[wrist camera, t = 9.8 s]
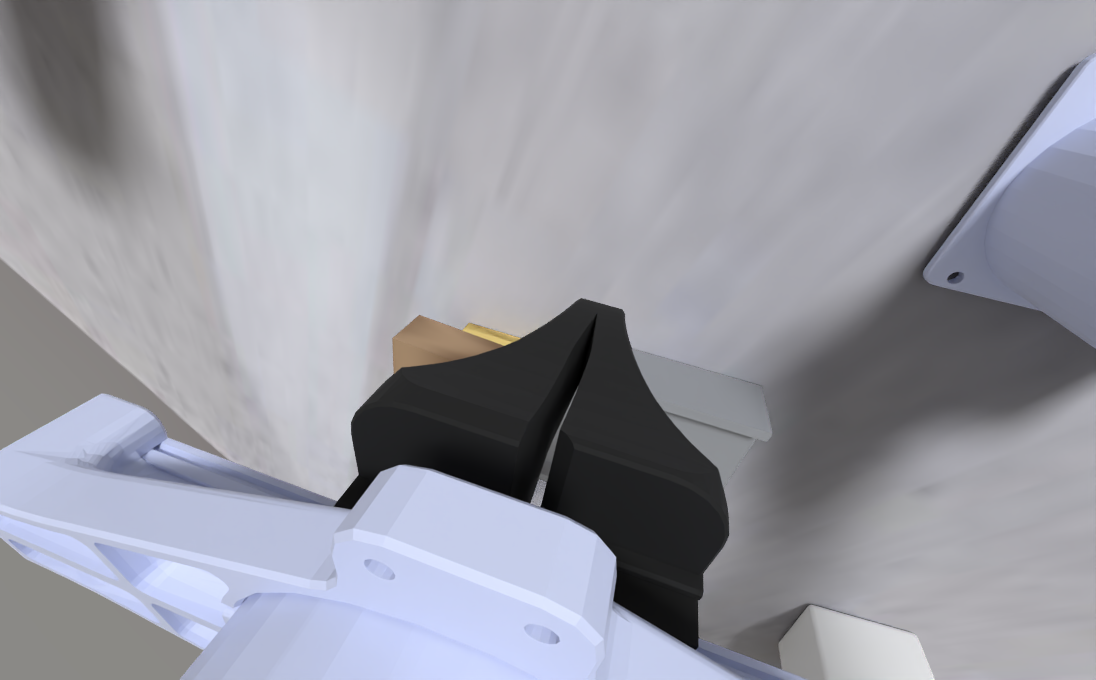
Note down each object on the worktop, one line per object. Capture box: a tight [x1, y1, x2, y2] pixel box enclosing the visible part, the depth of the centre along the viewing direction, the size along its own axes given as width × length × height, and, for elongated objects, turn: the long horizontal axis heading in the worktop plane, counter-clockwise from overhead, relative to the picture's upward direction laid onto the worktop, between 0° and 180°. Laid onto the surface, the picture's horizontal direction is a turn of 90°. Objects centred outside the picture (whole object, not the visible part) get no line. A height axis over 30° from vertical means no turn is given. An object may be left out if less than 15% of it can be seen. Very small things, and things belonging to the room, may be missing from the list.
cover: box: [393, 315, 503, 374], centre depth 24 cm, size 9×7×2 cm
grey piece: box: [539, 349, 773, 488], centre depth 24 cm, size 10×9×4 cm
